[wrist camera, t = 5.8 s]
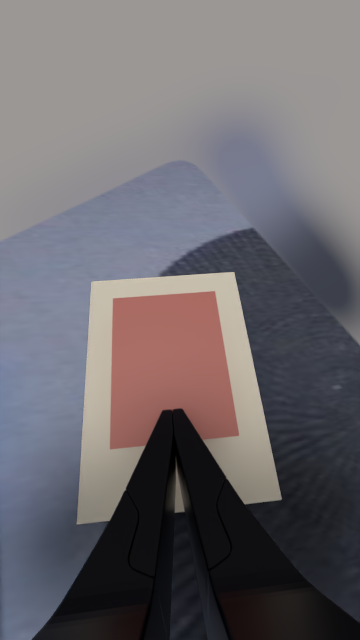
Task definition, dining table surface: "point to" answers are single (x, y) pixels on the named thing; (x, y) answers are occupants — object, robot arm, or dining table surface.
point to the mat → (230, 452)
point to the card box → (168, 367)
